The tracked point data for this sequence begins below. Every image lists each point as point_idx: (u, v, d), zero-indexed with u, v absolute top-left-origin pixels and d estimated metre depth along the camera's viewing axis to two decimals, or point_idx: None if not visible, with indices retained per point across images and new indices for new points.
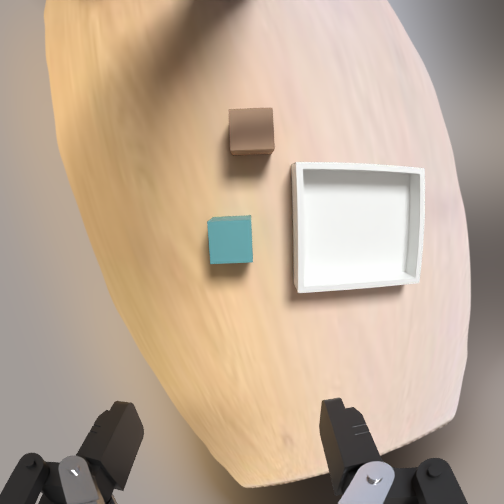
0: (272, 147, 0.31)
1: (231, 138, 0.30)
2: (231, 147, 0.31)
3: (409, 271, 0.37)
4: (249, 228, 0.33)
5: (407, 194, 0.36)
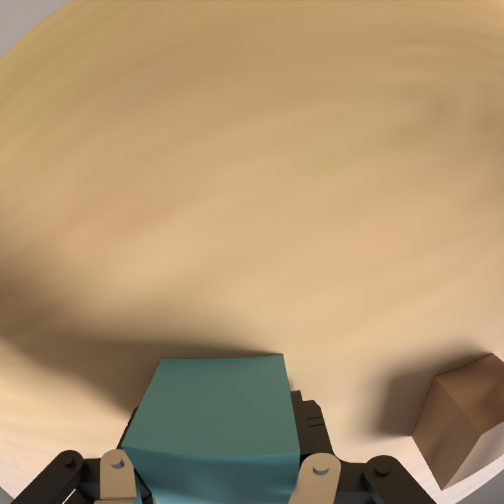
0: (445, 487, 0.08)
1: (500, 425, 0.07)
2: (485, 433, 0.07)
3: None
4: None
5: None
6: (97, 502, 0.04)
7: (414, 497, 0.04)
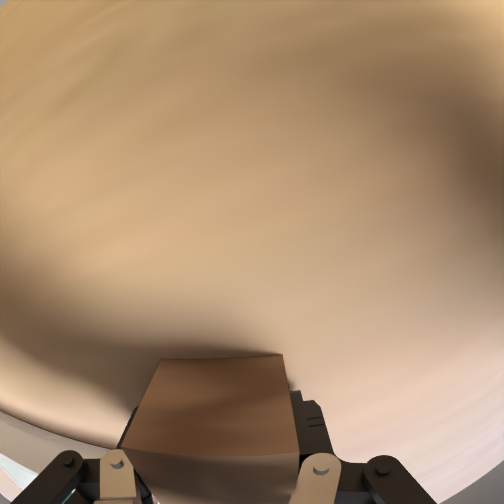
0: None
1: (167, 457, 0.06)
2: (133, 451, 0.06)
3: None
4: None
5: None
6: (97, 502, 0.04)
7: (415, 497, 0.04)
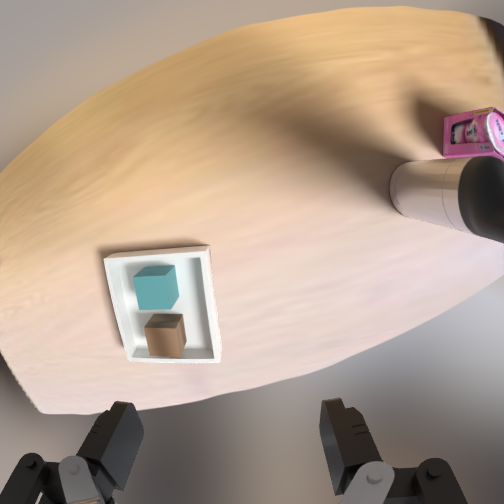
0: (150, 354, 0.40)
1: (152, 329, 0.39)
2: (146, 328, 0.39)
3: (137, 351, 0.44)
4: (164, 308, 0.38)
5: (199, 347, 0.45)
6: None
7: None
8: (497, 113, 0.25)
